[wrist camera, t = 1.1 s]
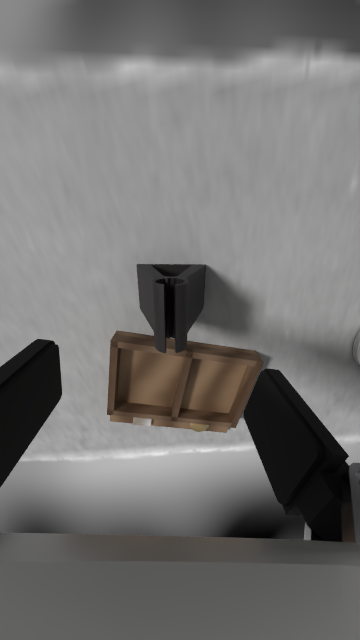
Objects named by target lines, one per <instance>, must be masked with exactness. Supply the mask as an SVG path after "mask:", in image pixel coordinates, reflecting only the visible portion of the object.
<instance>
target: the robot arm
mask: <svg viewBox="0 0 360 640" xmlns="http://www.w3.org/2000/svg"><path fill="white" fill-rule="evenodd" d="M353 356H354V359H355V361H356V362H357V363H358V364H359V365H360V331H359V332H358V334H357V336H356V338H355V340H354V344H353ZM61 396H62V385H61V371H60V357H59V347H58V345H55V343H54V341H51V340H43V339H37V340H35V341H34V342H32V343H31V344H30V345H28V346H27V347H26V348H25V349H23V350H22V351H21V352H19V353H18V354H17V355H15V356H14V357H13V358H11V359H10V360H9V361H8V362H6V363H5V364H4V365H2V366H1V367H0V487H1V486H2V484H3V483H4V481H5V480H6V478H7V477H8V476H9V474H10V472H11V471H12V470H13V468H14V467H15V465H16V464H17V462H18V461H19V459H20V458H21V456H22V455H23V453H24V452H25V451H26V449H27V448H28V446H29V445H30V443H31V442H32V440H33V439H34V437H35V436H36V434H37V433H38V431H39V430H40V428H41V427H42V426H43V424H44V423H45V421H46V420H47V418H48V417H49V415H50V414H51V412H52V411H53V409H54V408H55V406H56V405H57V403H58V402H59V400H60V398H61ZM244 419H245V421H246V424H247V426H248V429H249V431H250V434H251V436H252V439H253V441H254V444H255V446H256V449H257V451H258V454H259V456H260V459H261V461H262V463H263V466H264V469H265V471H266V473H267V476H268V478H269V481H270V483H271V486H272V488H273V491H274V493H275V496H276V498H277V500H278V502H279V503H281V504H282V505H283V508H284V510H285V513H286V515H299V516H300V515H301V514H302V515H303V518H304V520H305V533H304V540H286V539H284V540H283V539H254V538H252V539H251V538H220V537H181V536H180V537H179V536H139V535H137V536H135V535H93V534H92V535H90V534H36V533H0V640H360V463H352V464H351V465H350V466H349V465H348V464H347V463H346V462H345V460H346V459H347V458H348V457H349V456H348V454H347V453H346V452H345V451H344V449H343V448H342V447H341V446H340V444H339V443H338V442H337V441H336V440H335V438H334V437H333V436H332V435H331V433H330V432H329V431H328V430H327V428H326V427H325V426H324V425H323V423H322V422H321V421H320V420H319V419H318V417H317V416H316V415H315V414H314V412H313V411H312V410H311V409H310V407H309V406H308V405H307V404H306V403H305V401H304V400H303V399H302V398H301V396H300V395H299V394H298V393H297V391H296V390H295V389H294V388H293V386H292V385H291V384H290V383H289V382H288V380H287V379H286V378H285V377H284V375H283V374H282V373H281V372H280V371H279V370H275V369H265V370H264V371H262V372H261V373H260V375H259V377H258V379H257V382H256V384H255V386H254V389H253V391H252V394H251V396H250V398H249V401H248V403H247V405H246V408H245V410H244Z"/></svg>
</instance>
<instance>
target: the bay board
mask: <svg viewBox="0 0 360 640" xmlns="http://www.w3.org/2000/svg"><path fill="white" fill-rule="evenodd" d="M262 364H263V361H262V359H261V358H260V357H259V355H258V354H257V352H256V351H252V350H246V349H239V348H232V347H225V346H218V345H211V344H204V343H198V342H191V341H187V347H186V349H185V350H183V351H182V352H179V353H175V339H170V338H169V339H168V338H166V353H162V352H159V351H158V350H156V348H155V341H154V336H150V335H143V334H136V333H129V332H122V331H116V333H115V334H114V336H113V338H112V339H111V346H110V366H109V387H108V408H107V415H110V421H114V422H124V423H133V424H134V425H145V426H151V425H154V426H164V427H174V428H184V429H192V430H194V431H198V432H201V431H214V432H225V433H227V430H228V428H229V427H232V428H236V426H237V423H238V421H239V419H240V416H241V414H242V412H243V409H244V407H245V405H246V402H247V400H248V397H249V395H250V393H251V390H252V388H253V386H254V383H255V381H256V379H257V376H258V374H259V371H260V369H261V367H262Z"/></svg>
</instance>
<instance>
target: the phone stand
mask: <svg viewBox="0 0 360 640" xmlns="http://www.w3.org/2000/svg"><path fill="white" fill-rule="evenodd" d="M205 271H206V265H196V264H173V265H170V264H137V276H138V289H139V301H140V309H141V311H142V312H143V314H144V316H145V317H146V319H147V321H148V322H149V324H150V326H151V327H152V329H153V331H154V341H155V348H156V350H158V351H159V352H162V353H166V338H168V339H169V338H170V337H172V338H175V353H179V352H182V351H183V350H185V349H186V347H187V333H188V331H189V330H190V328H191V327H192V325H193V323H194V322H195V320H196V319H197V317H198V316H199V314H200V312H201V311H202V309H203V304H204V288H205Z"/></svg>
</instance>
